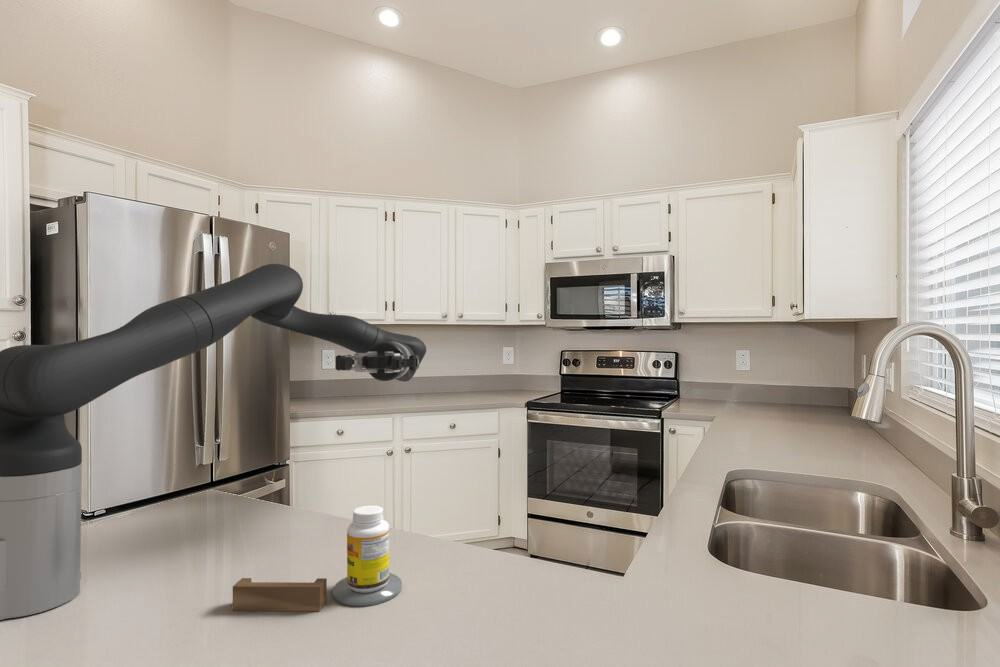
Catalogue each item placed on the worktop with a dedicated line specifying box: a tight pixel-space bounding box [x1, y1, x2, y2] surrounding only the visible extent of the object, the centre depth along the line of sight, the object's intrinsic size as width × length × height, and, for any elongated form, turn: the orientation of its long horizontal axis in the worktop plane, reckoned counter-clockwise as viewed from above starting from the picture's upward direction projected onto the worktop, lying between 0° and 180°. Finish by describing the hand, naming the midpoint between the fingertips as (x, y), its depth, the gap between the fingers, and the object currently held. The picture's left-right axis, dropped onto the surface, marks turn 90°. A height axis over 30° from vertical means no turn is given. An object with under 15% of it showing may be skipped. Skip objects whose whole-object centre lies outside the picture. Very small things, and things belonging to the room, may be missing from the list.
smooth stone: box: [332, 572, 403, 608], centre depth 72 cm, size 9×9×1 cm
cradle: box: [232, 577, 328, 612], centre depth 68 cm, size 2×11×3 cm, turn 89°
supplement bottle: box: [346, 504, 390, 593], centre depth 72 cm, size 6×6×10 cm
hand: (368, 363), depth 89 cm, fingers open, 8 cm apart
